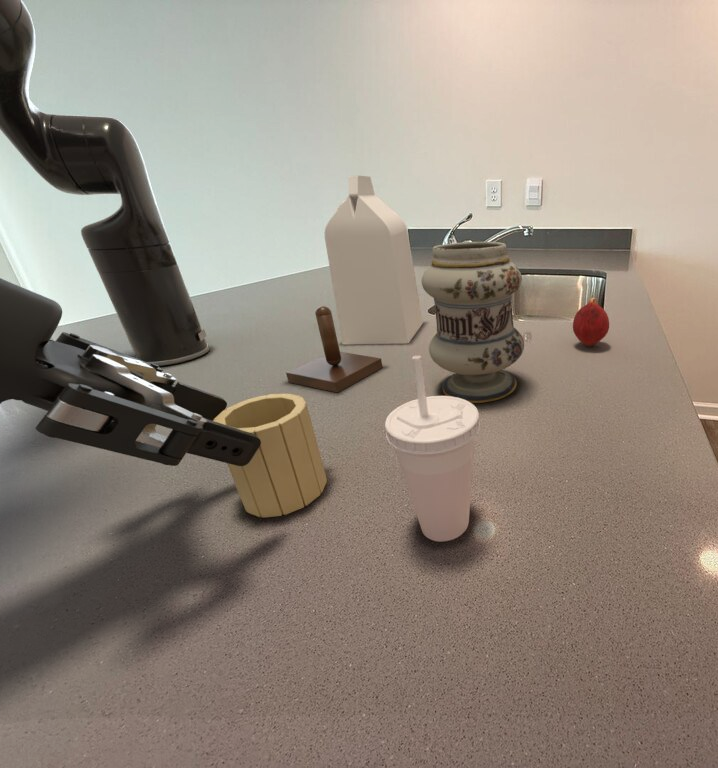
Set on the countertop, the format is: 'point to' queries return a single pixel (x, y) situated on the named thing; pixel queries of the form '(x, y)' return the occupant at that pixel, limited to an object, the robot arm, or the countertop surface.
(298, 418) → the wooden slatted cup
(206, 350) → the robot arm
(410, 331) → the milk
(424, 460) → the smoothie
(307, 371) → the stand
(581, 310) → the onion
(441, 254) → the apothecary jar
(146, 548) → the countertop surface
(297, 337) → the countertop surface
